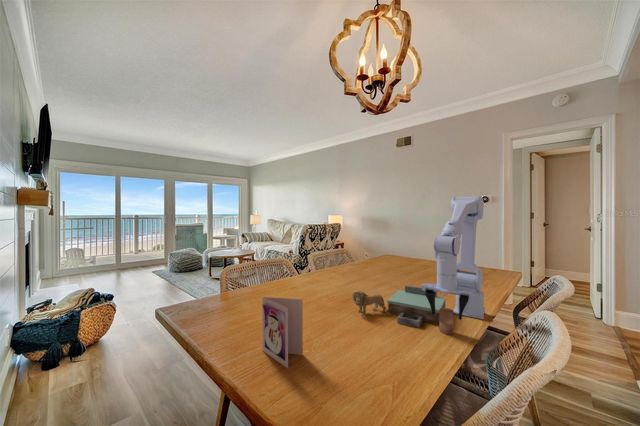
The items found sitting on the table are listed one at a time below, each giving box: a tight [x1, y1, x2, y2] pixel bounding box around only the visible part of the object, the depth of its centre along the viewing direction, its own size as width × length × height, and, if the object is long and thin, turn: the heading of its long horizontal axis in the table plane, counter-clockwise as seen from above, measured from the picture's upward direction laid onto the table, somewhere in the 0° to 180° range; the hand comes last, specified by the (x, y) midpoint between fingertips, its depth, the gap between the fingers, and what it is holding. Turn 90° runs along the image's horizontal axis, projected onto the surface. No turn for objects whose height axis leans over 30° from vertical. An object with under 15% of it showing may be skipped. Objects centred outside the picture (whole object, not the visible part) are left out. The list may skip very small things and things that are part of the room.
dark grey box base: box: [387, 301, 446, 329], centre depth 96 cm, size 18×21×4 cm
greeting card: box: [261, 296, 304, 369], centre depth 70 cm, size 11×7×15 cm, turn 45°
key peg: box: [438, 307, 454, 336], centre depth 83 cm, size 4×4×7 cm
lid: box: [387, 285, 446, 313], centre depth 99 cm, size 18×15×4 cm
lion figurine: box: [351, 289, 387, 316], centre depth 99 cm, size 15×5×9 cm, turn 111°
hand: (446, 315), depth 83 cm, fingers open, 7 cm apart
